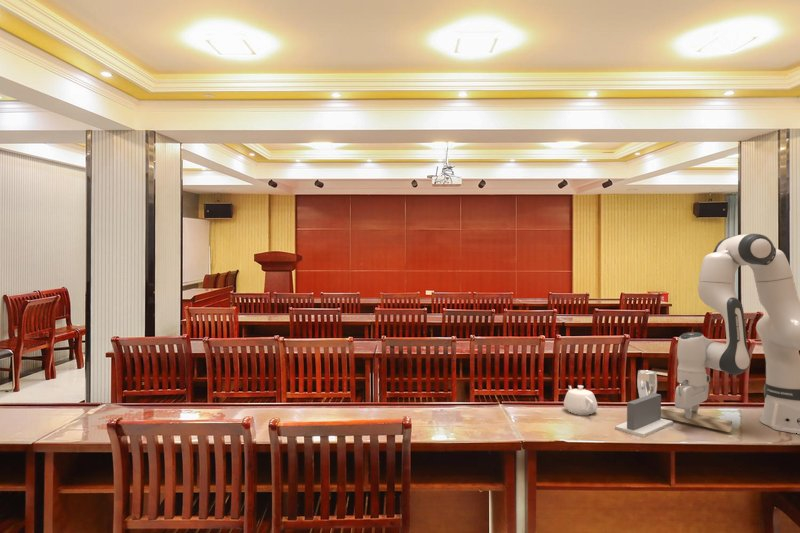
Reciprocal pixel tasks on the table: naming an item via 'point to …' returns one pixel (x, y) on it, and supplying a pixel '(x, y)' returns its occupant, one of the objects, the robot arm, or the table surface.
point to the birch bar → (697, 419)
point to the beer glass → (646, 382)
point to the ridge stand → (644, 416)
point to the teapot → (580, 401)
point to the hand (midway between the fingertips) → (691, 416)
